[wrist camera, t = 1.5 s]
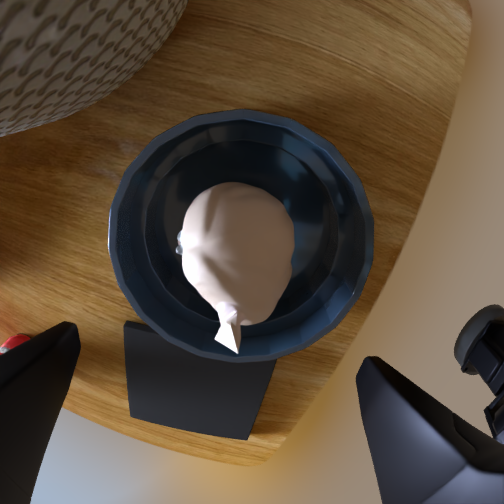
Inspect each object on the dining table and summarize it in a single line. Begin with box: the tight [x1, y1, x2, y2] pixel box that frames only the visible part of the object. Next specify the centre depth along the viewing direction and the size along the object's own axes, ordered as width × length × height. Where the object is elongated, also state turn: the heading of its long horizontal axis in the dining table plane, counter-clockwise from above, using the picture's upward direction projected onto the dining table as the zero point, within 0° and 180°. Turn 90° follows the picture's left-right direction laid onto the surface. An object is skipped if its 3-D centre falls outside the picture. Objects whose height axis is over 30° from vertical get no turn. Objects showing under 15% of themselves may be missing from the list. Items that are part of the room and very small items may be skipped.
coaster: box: [124, 321, 277, 440], centre depth 24 cm, size 12×12×1 cm
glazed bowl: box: [108, 109, 374, 363], centre depth 17 cm, size 14×14×4 cm
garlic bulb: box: [176, 182, 295, 353], centre depth 15 cm, size 7×6×8 cm
